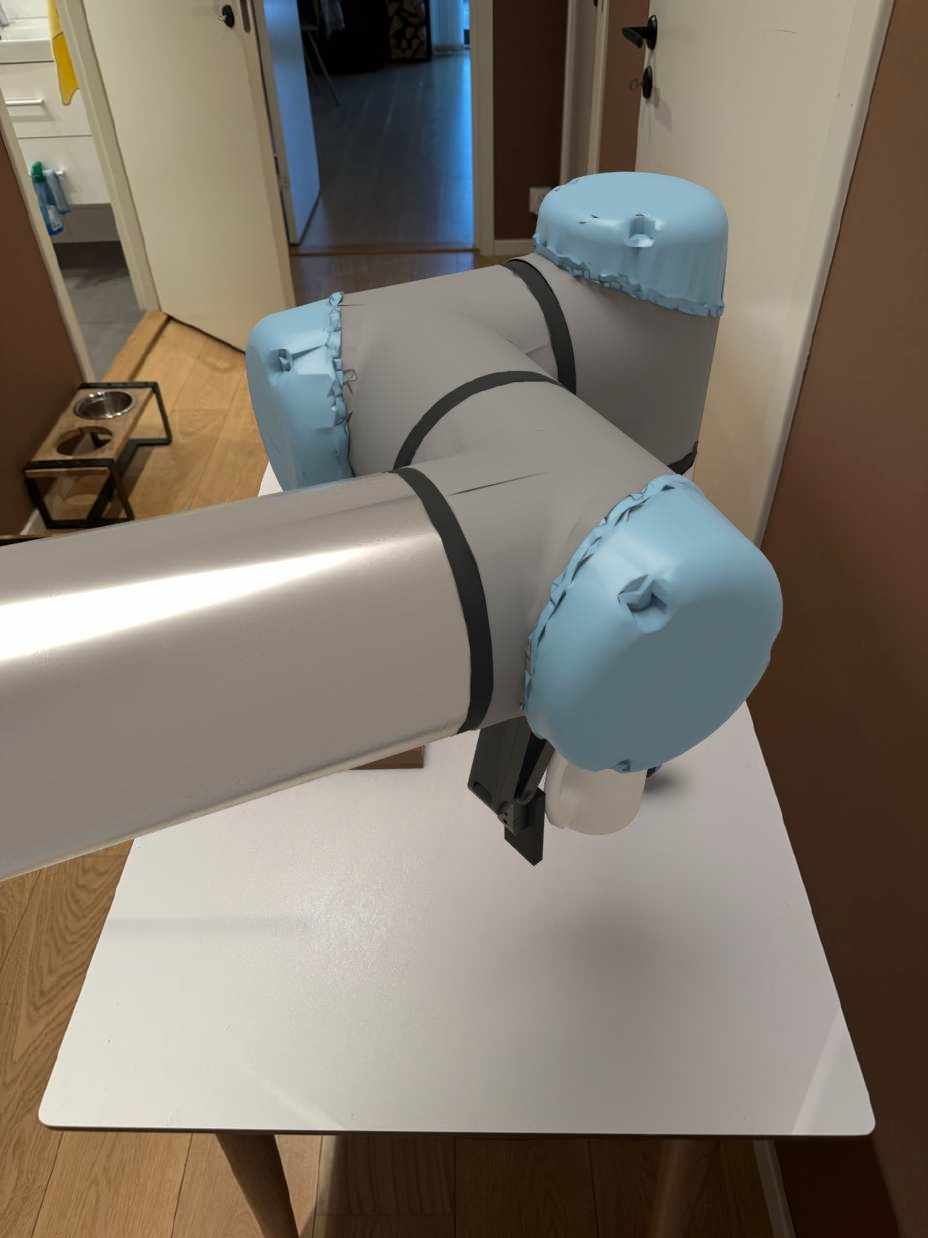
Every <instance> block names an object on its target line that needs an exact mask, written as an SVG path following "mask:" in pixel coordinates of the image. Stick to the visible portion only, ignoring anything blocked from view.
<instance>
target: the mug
mask: <svg viewBox="0 0 928 1238" xmlns="http://www.w3.org/2000/svg"><path fill="white" fill-rule="evenodd" d="M646 775H647V769H646V770H643V771H639V772H632V773H625V774H622V773H618V772H617V771H615V770H613V769H604V770H600V771H598V772H593V771H590V770H586V769H582V768H579V767H577V766H575V765H573V764H571V763H570V762H569V761H567V760H566V759H565V758H563V757H562V756H561V755H560V754H559V753H558V752H557V750H556V749H555V751H554V753H553V755H552V758H551V760H550V762H549V764H548V766H547V768H546V771H545V778H544V783H543V791H544V792H545V793H546V797H545V817H546V818H547V821H548V822H549V824H551V825H552V826H554V827H556V828H558V829H561V830H563V829H566V828H568V829H570V830H572V831H575V832H577V833H581V834H584V835H591V836H605V835H610V834H614V833H616V832H619V831H621V830H623V829H625V828H626V827H628V826H629V825H630V824H631V823H632V822H633V821H634V820H635V818H636V816H637V815H638V813H639V810H640V806H641V803H642V798H643V794H644V790H645V784H646V780H647V778H646Z"/></svg>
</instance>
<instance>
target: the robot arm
mask: <svg viewBox="0 0 928 1238" xmlns="http://www.w3.org/2000/svg"><path fill="white" fill-rule="evenodd" d="M532 247H534V250H533V252H531V253H528V254H526V255H523V256H518V257H517V256H516V257H513V258H509V259H507V260H505V261H504V262H502V263H497V264H494V265H490V266H485V267H480V268H473V269H469V270H465V271H459V272H454V273H449V274H444V275H438V276H434V277H433V276H432V277H429V278H423V279H419V280H413V281H412V280H411V281H408V282H407V281H406V282H404V283H403V282H402V283H398V284H393V285H387V286H382V287H376V288H371V289H367V290H366V289H365V290H362V291H355V292H351V293H346V294H345V292H344V291H337V292H332V294H331V295H329V297H328V298H325V299H320V300H317V301H314V302H310V303H308V304H303V305H299V306H296V307H293V308H289V309H285V310H282V311H278V312H275V313H271V314H269V315H266V316H265V317H262V319H260V320H259V321H258V322H257V323H255V325H254V326H253V328H252V329H251V331H250V333H249V335H248V339H247V343H246V346H245V371H246V379H247V385H248V391H249V397H250V402H251V405H252V410H253V414H254V417H255V422H256V425H257V429H258V432H259V435H260V438H261V441H262V445H263V448H264V452H265V454H266V456H267V459H268V462H269V463H270V467H271V469H272V472H273V473H274V476H275V478H276V480H277V483H278V485H279V486H280V488H281V490H282V491H278V492H273V493H267V494H262V495H258V496H252V497H248V498H243V499H238V500H232V501H227V502H222V503H217V504H211V505H205V506H201V507H196V508H191V509H187V510H181V511H175V512H171V513H166V514H165V513H164V514H161V515H155V516H149V517H145V518H140V519H135V520H129V521H124V522H120V523H114V524H109V525H105V526H100V527H94V528H88V529H84V530H79V531H72V532H68V533H63V534H57V535H53V536H48V537H43V538H39V539H33V540H28V541H23V542H18V543H12V544H7V545H2V546H0V883H1V882H4V881H7V880H11V879H14V878H16V877H21V876H23V875H26V874H29V873H33V872H35V871H38V870H42V869H45V868H48V867H51V866H54V865H58V864H60V863H63V862H66V861H70V860H73V859H75V858H79V857H82V856H85V855H88V854H91V853H95V852H97V851H100V850H104V849H107V848H110V847H113V846H116V845H118V844H122V843H126V842H127V841H131V840H134V839H138V838H141V837H144V836H147V835H150V834H153V833H156V832H159V831H163V830H166V829H169V828H171V827H174V826H178V825H182V824H184V823H187V822H190V821H193V820H197V819H200V818H202V817H206V816H209V815H212V814H215V813H218V812H221V811H224V810H228V809H231V808H233V807H237V806H240V805H243V804H246V803H250V802H252V801H255V800H259V799H262V798H264V797H267V796H270V795H273V794H277V793H280V792H283V791H286V790H289V789H292V788H296V787H298V786H302V785H305V784H307V783H311V782H314V781H317V780H321V779H323V778H327V777H329V776H332V775H337V774H339V773H342V772H345V771H348V770H352V769H351V768H354V767H358V766H361V765H364V764H367V763H370V762H373V761H376V760H379V759H382V758H385V757H388V756H392V755H395V754H398V753H401V752H404V751H407V750H410V749H413V748H416V747H419V746H423V745H424V746H426V745H428V744H432V743H435V742H438V741H441V740H445V739H447V738H452V737H454V736H458V735H461V734H463V733H464V734H465V733H467V732H474V731H475V732H476V731H478V730H479V734H478V737H477V740H476V746H475V750H474V754H473V759H472V763H471V766H470V767H471V768H470V772H469V776H468V780H467V784H466V785H467V789H468V790H469V791H470V792H471V793H472V794H473V795H474V796H475V797H477V798H478V799H479V800H480V801H481V802H482V803H483V804H484V805H485V806H486V807H487V808H488V809H490V811H492V812H493V814H495V815H496V816H497V820H498V821H499V822H500V823H501V824H502V825H503V833H504V834H503V840H504V841H506V842H507V843H508V844H509V845H510V846H511V847H512V848H513V849H514V850H515V851H517V853H518V854H519V855H521V857H523V858H524V859H525V861H527V862H528V864H530V865H532V867H535V866H537V865H538V864H540V862H543V859H544V840H545V821H546V820H545V819H546V818H545V817H546V813H545V797H546V793H545V792H544V789H542V788H540V787H539V786H540V784H541V782H542V779H543V777H544V775H545V774H546V768H547V766H548V764H549V762H550V760H551V758H552V755H553V753H554V751H555V749H556V750H557V752H558V753H559V754H560V755H561V756H562V757H563V758H565V759H566V760H567V761H569V762H570V763H571V764H573V765H575V766H577V767H579V768H582V769H586V770H590V771H593V772H598V771H600V770H604V769H613V770H615V771H617V772H618V773H622V774H625V773H632V772H639V771H643V770H646V769H647V775H646V779H649V778H650V777H651V776H652V775H653V774H655V773H656V772H655V769H656V766H658V765H661V764H662V765H663V764H665V763H669V762H670V761H672V760H674V759H676V758H678V757H680V756H682V755H683V754H685V753H687V752H688V751H689V750H691V749H693V748H694V747H696V746H697V745H698V744H700V743H702V742H703V741H705V740H706V739H707V738H709V737H710V736H712V735H713V734H714V733H715V732H717V730H719V729H720V727H722V726H723V725H724V724H725V723H726V722H727V721H728V720H729V719H730V718H731V717H733V715H734V714H735V713H736V712H737V711H738V710H739V709H740V707H742V705H743V704H744V703H745V702H746V700H747V699H748V697H750V695H751V694H752V692H753V691H754V689H755V688H756V686H757V685H758V684H759V682H760V680H761V679H762V677H763V675H764V674H765V672H766V670H767V668H768V666H769V664H770V662H771V652H772V651H771V650H772V646H773V644H774V642H775V640H776V639H777V638H778V635H779V633H780V632H781V628H782V625H783V624H782V623H783V613H784V612H783V611H784V610H783V607H784V603H783V602H784V601H783V600H784V599H783V593H782V589H781V583H780V581H779V578H778V576H777V573H776V570H775V569H774V567H773V565H772V563H771V562H770V560H769V559H768V558H767V557H766V556H765V554H764V553H763V552H762V550H760V548H758V546H756V545H755V544H754V543H753V542H752V541H751V540H750V539H749V538H748V537H747V536H745V534H744V533H742V532H741V531H740V530H739V529H738V528H737V527H736V525H734V524H733V523H732V522H731V521H730V520H729V519H728V518H727V517H726V516H725V515H724V514H723V513H722V512H721V510H719V509H718V508H717V507H716V506H715V505H714V504H713V503H712V502H711V501H710V500H709V499H708V498H707V497H706V495H705V493H704V492H703V490H702V489H701V488H700V487H699V486H698V485H697V484H696V483H695V482H694V479H695V473H696V472H695V471H696V466H697V458H698V446H699V438H700V433H701V427H702V422H703V416H704V411H705V410H704V409H705V405H706V399H707V395H708V394H707V393H708V388H709V382H710V378H711V372H712V366H713V359H714V355H715V349H716V344H717V338H718V332H719V327H720V321H721V317H722V316H723V314H724V311H725V301H724V295H725V294H724V293H725V284H726V271H727V264H728V263H727V262H728V249H729V248H728V247H729V217H728V214H727V211H726V208H725V207H724V205H723V203H722V202H721V200H720V199H719V197H717V196H716V195H715V194H714V193H713V192H711V191H710V190H708V189H707V188H705V187H703V186H701V185H700V184H697V183H694V182H691V181H689V180H688V179H685V178H681V177H677V176H672V175H667V174H662V173H654V172H653V173H652V172H642V171H611V172H600V173H594V174H593V173H592V174H587V175H583V176H579V177H575V178H573V179H572V180H570V181H569V182H567V183H566V184H563V185H558V186H556V187H554V188H553V189H551V190H550V191H549V192H548V193H546V195H545V196H544V198H543V200H542V201H541V203H540V206H539V209H538V213H537V221H536V227H535V233H534V235H533V234H532Z"/></svg>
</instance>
